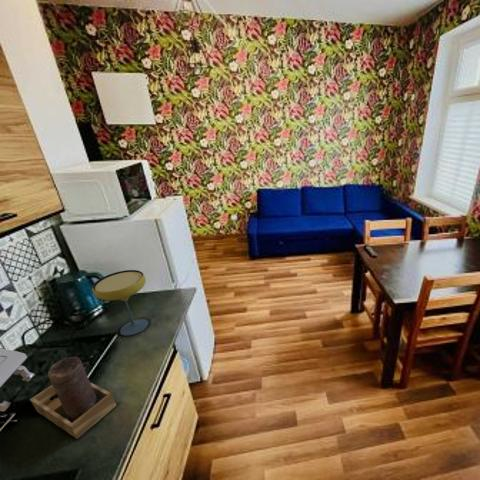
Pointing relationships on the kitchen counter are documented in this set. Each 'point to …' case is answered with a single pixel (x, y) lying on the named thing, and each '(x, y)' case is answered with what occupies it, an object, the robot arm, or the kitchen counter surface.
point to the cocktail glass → (122, 294)
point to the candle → (72, 387)
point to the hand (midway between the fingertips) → (20, 391)
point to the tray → (58, 416)
